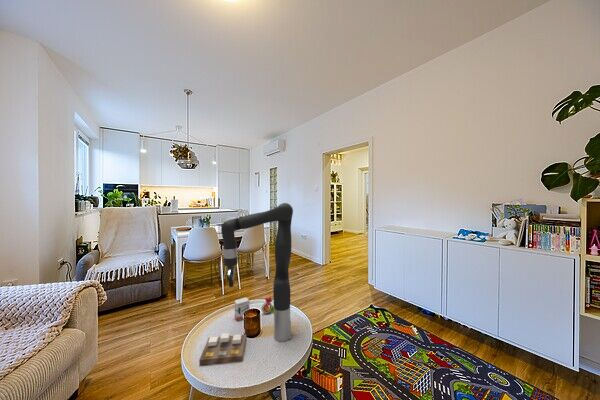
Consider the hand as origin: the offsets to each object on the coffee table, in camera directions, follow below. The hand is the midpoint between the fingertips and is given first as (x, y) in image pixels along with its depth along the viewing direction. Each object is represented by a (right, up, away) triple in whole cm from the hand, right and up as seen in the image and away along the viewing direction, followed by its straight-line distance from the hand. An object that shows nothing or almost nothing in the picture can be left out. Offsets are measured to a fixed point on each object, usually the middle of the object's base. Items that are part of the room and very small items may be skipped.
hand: (231, 286), depth 127 cm
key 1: (-6, -26, -9) cm, 28 cm away
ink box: (+1, -28, +20) cm, 35 cm away
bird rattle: (+18, -28, +25) cm, 41 cm away
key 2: (+5, -26, -8) cm, 27 cm away
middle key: (0, -24, -9) cm, 26 cm away
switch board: (0, -30, -11) cm, 31 cm away
